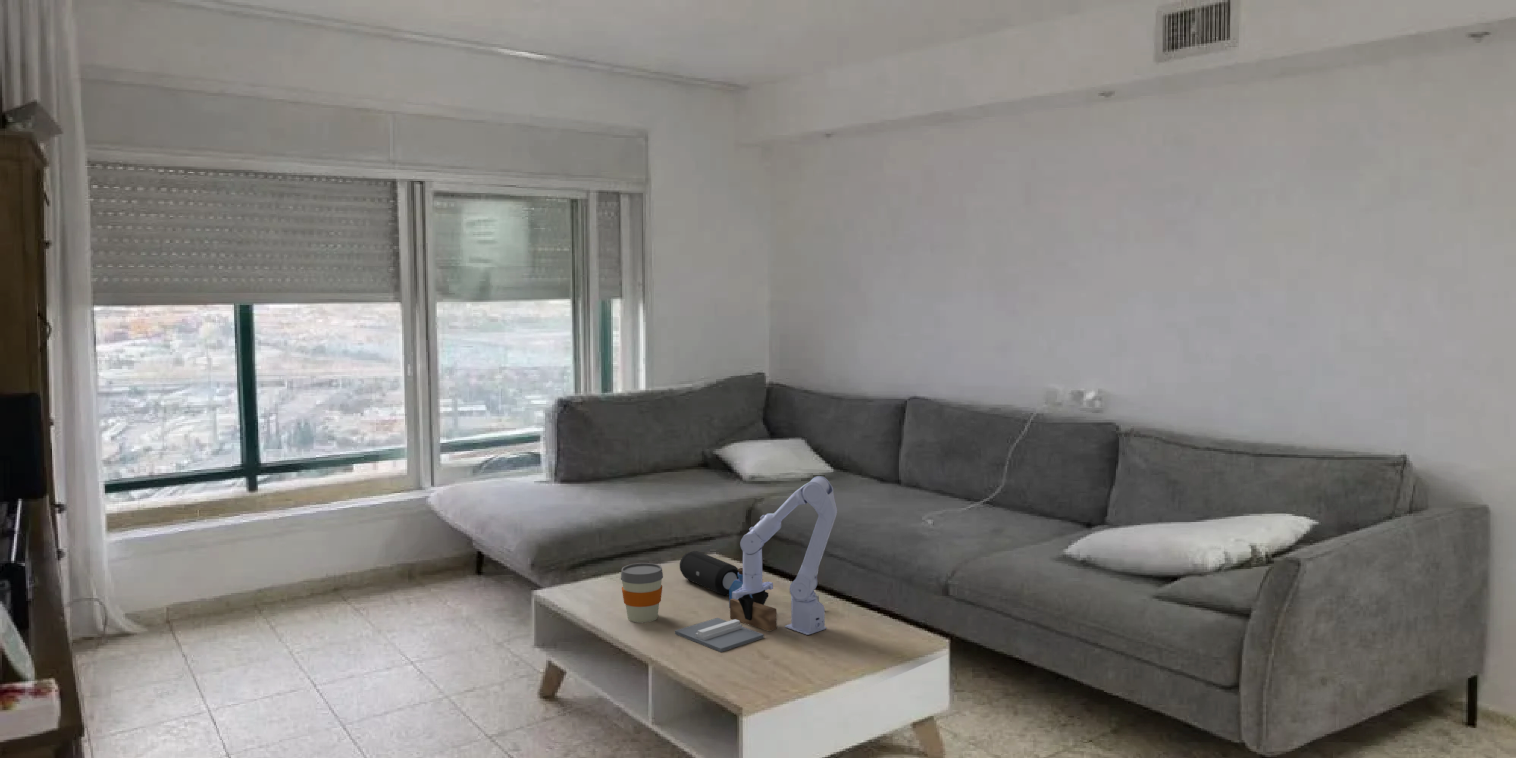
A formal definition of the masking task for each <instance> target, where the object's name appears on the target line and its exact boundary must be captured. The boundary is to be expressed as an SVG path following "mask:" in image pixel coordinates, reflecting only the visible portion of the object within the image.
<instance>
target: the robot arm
mask: <svg viewBox="0 0 1516 758" xmlns="http://www.w3.org/2000/svg"><path fill="white" fill-rule="evenodd" d="M806 504H809V505H810V506H811V507H812V508H813V509H814V510H815V512H816V514H817V515H818V516H817V519H816V522H815V525H814V528H813V531H812V533H811V534H812V535H811V537H810V539H809V543H808V546H807V549H806V551H805V554H804V558H803V560H802V563H801V566H800V568H799V571H798V573H797V574H796V577H795V578H794V580H793V581H792V582H791V583H790V585H789V594H790V597H791V601H790V602H791V603H790V604H791V605H790V606H791V608H790V613H791V617H790V618H791V623H789V624H786V625H784V628H787V629H789V630H792V631H794V632H798V633H800V634H804V635H807V636H808V635H809V636H810V635H813V634H815V633H818V632H821V631H824V630H826V629H827V626H825V625H826V624H825V618H826V617H825V605H824V604H823V603H822V602H820V600H819V601H818V600H817V598H816V594H817V593H816V592H815V590H816V588H817V586H818V574H819V567H820V564H821V561H822V558H823V555H824V554H825V550H826V547H827V545H828V541H829V538H830V535H831V533H832V530H833V527H834V523H835V521H836V518H837V515H838V508H837V504H836V500H835V494H834V487H833V485H832V484H831V483H830V481H829V480H828V479H827V478H826V477H825V476H823V475H821V476H820V475H817V476H814V477H813V478H811V479H810V481H809V482H807V483H805V484H804V485H802V486H801V487H799V488H798V489H796V490H795V491H794V492H793V493H792V494H791V495H790V496H789V497H788V498H787V499H786V500H785V501H784V502H783V503H782V504H781V505H780V506H779V508H777V510H776V511H774V513H770V512H769V513H766V514H762V515H761V516H760V517H759V519H760V520H759V521H758V522H756V524H755V525H754V526H751V527H750V528H749V529H748V530H749V531H748V532H747V533H746V534H744V535H743V536H742V538H741V539H740V542H739V545H740V546H739V547H740V549H741V551H742V568H743V585H742V587H741V588H739V589H737V590H736V591H733V592H732V598H733V599H736V600H737V599H738V600H739V602H740V604H741V606H742V609H743V612H744V616H745V619H747V620H751V619H752V607H753V603H754V602H755V603H759V604H762V605H765V604H766V601H767V600H768V597H769V592H767V591H769V590H773V589H774V583H773V582H770V581H764V582H763V547H764V545H765V543H767V542H768V541H769V540H770V539H771V538H772V537H773V536H774V535H776V533H777V532H779V530H780V529H781V528H782V521H783V520H784V519H785V518H786V517H787V516H788V515H789V514H790V513H791V512H792V511H794V510H795V509H796V508H797V507H798V506H800V505H801V506H802V505H806ZM815 593H816V594H815ZM751 594H752V598H751V596H750V595H751Z"/></svg>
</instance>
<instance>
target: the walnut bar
mask: <svg viewBox="0 0 1516 758" xmlns="http://www.w3.org/2000/svg"><path fill="white" fill-rule="evenodd" d="M729 616H730V617H729V618H730V620H734V619H736V620H739V621H740V623H743V624H745V625H748V624H749V625H748V626H752V627H755V628H758V629H761V630H765V631H767V630H768V632H771V630H772V631H774V630H777V623H778V622H777V608H775V607H771V606H768V605H766V604H764V605H762V604H759V603H755V602H754V603H753V607H752V619H751V620H747V619H745V616H744V612H743V609H742V606H741V604H740V602H739V600H738V599H737V600H736V599H730V608H729Z"/></svg>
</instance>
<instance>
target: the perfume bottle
mask: <svg viewBox="0 0 1516 758" xmlns="http://www.w3.org/2000/svg"><path fill="white" fill-rule="evenodd" d="M738 571H739V572H738V577H739V579H737V580H734V582H733V583H732V585H731V586H730V588H729V595H728V596H729V597H728V598H729V599H728V601H729V602H728V603H729V604H728V605H729V609H730V599H733V598H732V592H733V591H736V590H737V589H739V588H741V587H742V585H743V567H740V568H738ZM750 596H751V598H752V594H751V595H750Z"/></svg>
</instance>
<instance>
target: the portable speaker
mask: <svg viewBox="0 0 1516 758" xmlns="http://www.w3.org/2000/svg"><path fill="white" fill-rule="evenodd" d="M738 569H739V568H738V567H736V566H735V565H733V564H732V563H728V562H726V561H723V560H721V559H718V558H716V557H713V556H711V555H708V554H706V553H703V552H700V551H699V550H693V551H689V552H686V553H684V555H683V556H682V557H681V559H680V561H679V571H680V572H681V574H682V575H683V577H684V578H685V579H686V580H688V581H691V582H693V583H695V584H697V585H699V586H702V587H704V588H706V589H708V590H711V591H713V592H715V593H717V594H719V595H722V596H729V588H730V586H731V585H732V583H733V582H734V580H737V579H739V577H738V572H739V571H738Z"/></svg>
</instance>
